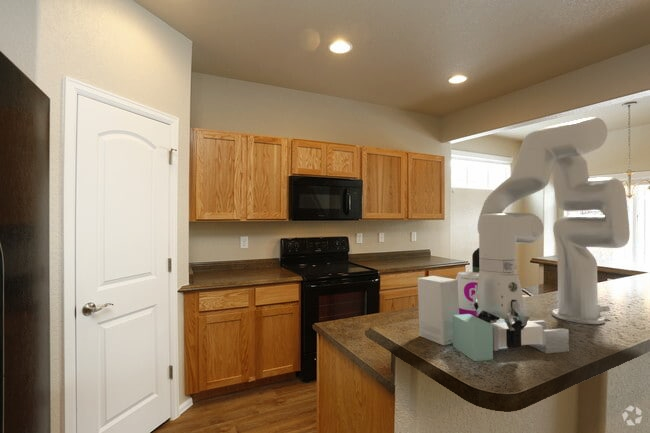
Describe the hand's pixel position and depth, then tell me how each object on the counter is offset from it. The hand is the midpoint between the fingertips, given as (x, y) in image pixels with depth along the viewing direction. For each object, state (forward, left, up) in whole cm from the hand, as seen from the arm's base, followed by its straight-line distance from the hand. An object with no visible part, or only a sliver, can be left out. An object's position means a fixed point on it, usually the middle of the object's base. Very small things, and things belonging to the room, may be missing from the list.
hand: (498, 339), depth 74 cm
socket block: (+7, 0, -3) cm, 7 cm away
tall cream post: (-1, 0, -1) cm, 2 cm away
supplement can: (-5, -16, -3) cm, 17 cm away
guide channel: (-13, 0, -3) cm, 13 cm away
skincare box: (+10, -9, -3) cm, 14 cm away
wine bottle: (-15, -24, -3) cm, 28 cm away
